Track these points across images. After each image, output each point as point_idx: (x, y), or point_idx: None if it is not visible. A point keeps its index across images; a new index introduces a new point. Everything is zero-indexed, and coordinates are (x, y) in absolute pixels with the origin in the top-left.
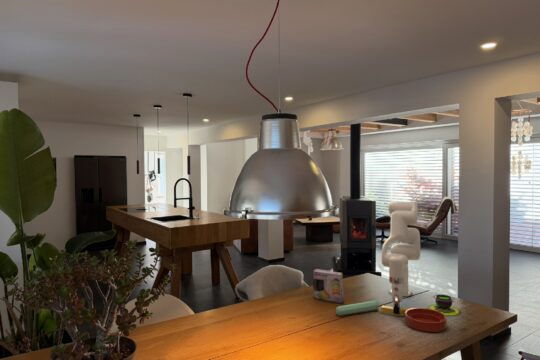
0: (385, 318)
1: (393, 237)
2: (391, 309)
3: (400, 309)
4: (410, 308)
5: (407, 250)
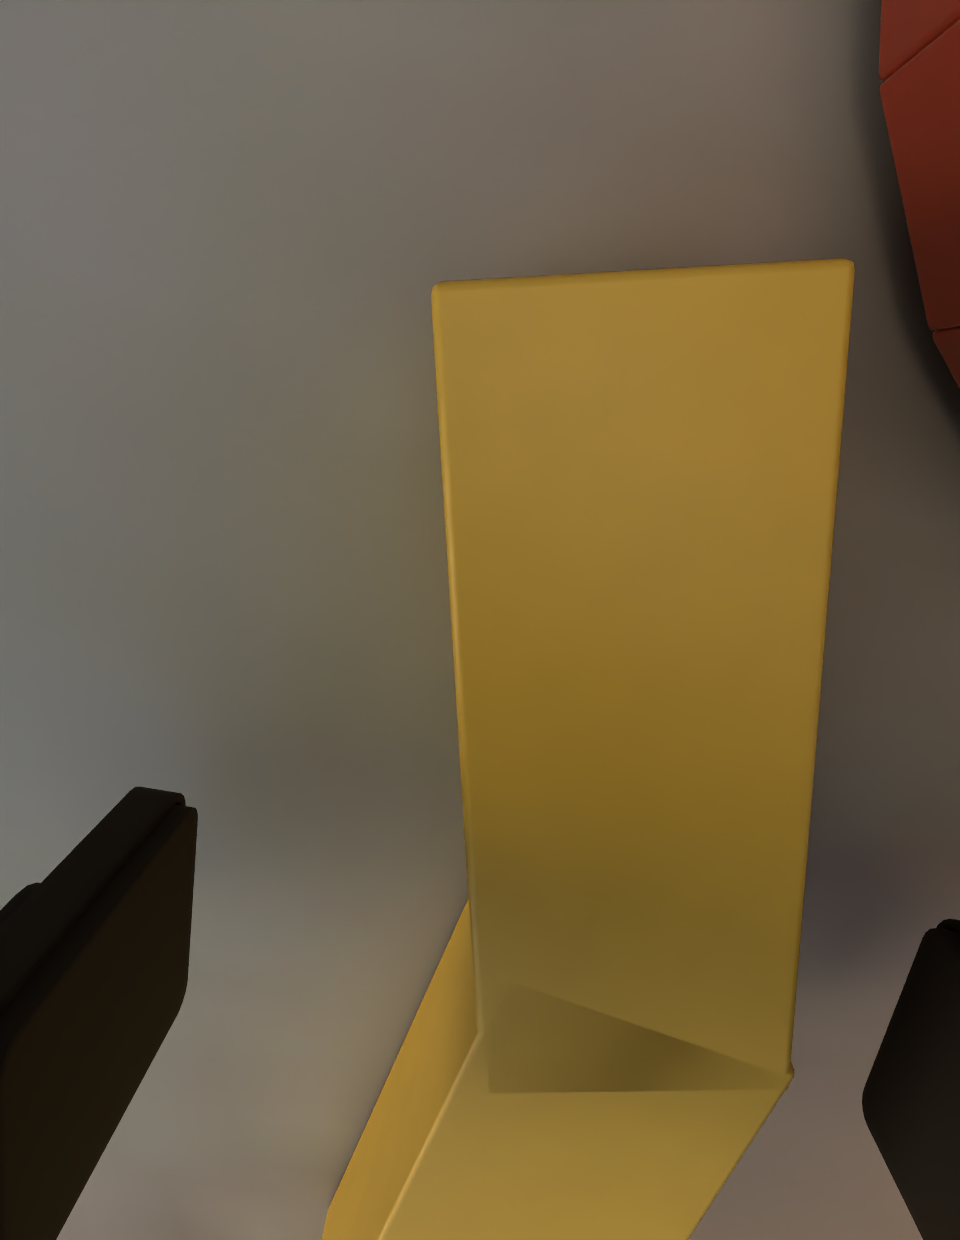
0: None
1: None
2: (682, 1225)
3: (730, 911)
4: (517, 317)
5: None
